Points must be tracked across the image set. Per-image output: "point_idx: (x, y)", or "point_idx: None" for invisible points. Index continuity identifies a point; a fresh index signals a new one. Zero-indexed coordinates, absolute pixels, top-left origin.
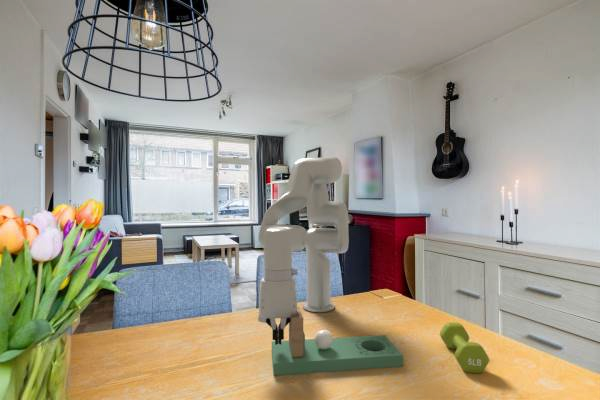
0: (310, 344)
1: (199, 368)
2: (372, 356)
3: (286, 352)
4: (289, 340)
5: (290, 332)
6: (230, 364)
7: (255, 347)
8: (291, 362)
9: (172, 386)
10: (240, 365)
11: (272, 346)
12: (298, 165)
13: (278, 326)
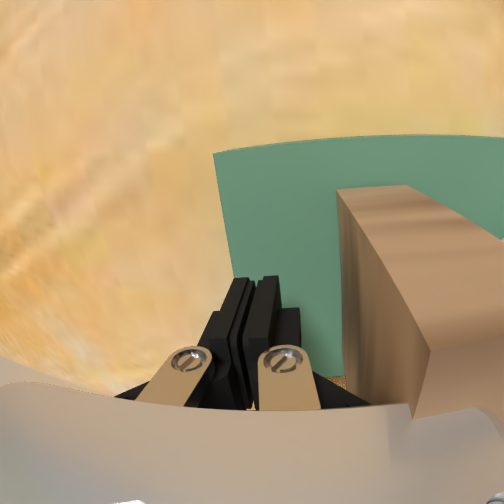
0: (462, 207)
1: (23, 280)
2: None
3: (317, 295)
4: (343, 244)
5: (356, 367)
6: (83, 263)
7: (137, 108)
8: (335, 375)
9: (24, 347)
10: (117, 272)
11: (227, 223)
12: None
13: (246, 356)
